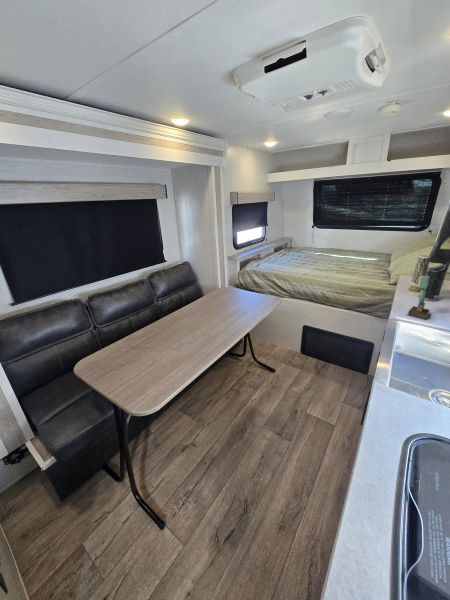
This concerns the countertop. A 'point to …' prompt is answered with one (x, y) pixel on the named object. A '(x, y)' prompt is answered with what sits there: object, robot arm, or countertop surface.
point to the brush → (423, 287)
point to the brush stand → (419, 311)
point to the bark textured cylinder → (419, 271)
